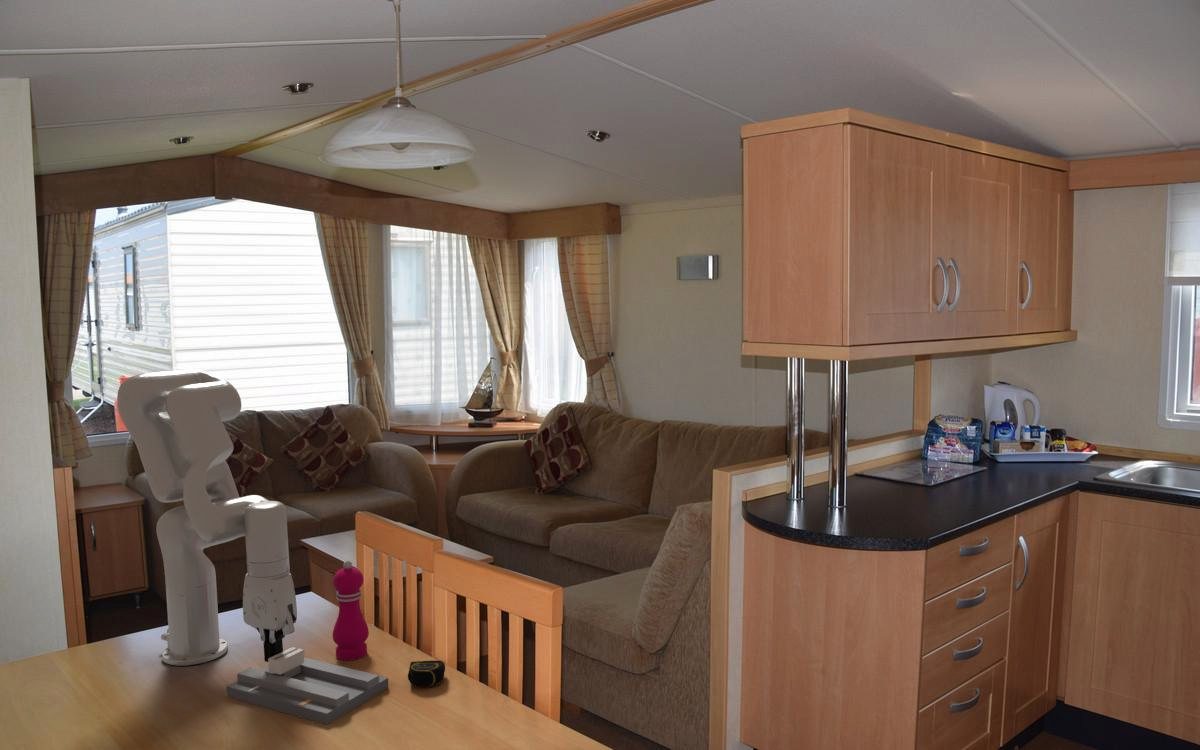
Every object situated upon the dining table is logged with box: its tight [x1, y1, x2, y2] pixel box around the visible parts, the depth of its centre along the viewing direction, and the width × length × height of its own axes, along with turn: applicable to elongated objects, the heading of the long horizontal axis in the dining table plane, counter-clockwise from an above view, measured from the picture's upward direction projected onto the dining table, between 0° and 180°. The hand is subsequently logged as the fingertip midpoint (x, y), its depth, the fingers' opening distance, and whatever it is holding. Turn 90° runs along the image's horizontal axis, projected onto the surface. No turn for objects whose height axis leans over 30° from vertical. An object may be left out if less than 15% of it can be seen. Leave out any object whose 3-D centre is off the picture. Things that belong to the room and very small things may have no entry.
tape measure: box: [407, 659, 446, 688], centre depth 174 cm, size 7×7×4 cm
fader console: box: [226, 657, 389, 725], centre depth 171 cm, size 25×16×4 cm, turn 63°
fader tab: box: [267, 646, 305, 678], centre depth 173 cm, size 3×6×4 cm, turn 153°
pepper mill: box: [332, 560, 370, 661], centre depth 188 cm, size 7×7×20 cm
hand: (274, 659), depth 175 cm, fingers closed
